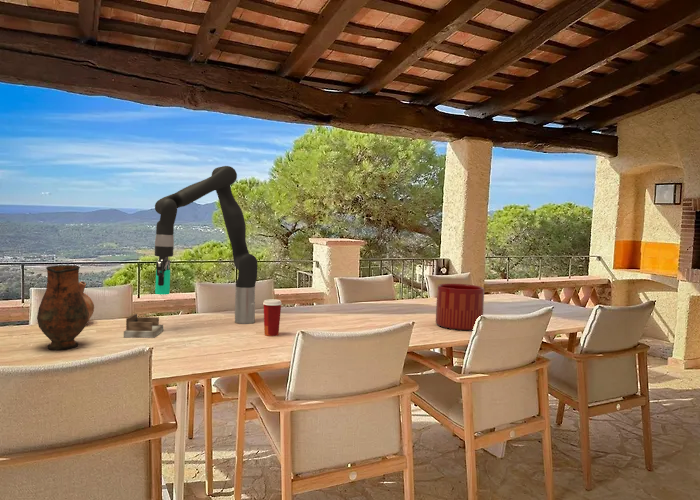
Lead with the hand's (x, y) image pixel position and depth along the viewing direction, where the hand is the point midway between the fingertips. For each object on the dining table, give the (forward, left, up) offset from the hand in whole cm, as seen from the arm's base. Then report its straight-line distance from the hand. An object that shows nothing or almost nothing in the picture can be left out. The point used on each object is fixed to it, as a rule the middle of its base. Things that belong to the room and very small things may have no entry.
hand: (162, 284), depth 215 cm
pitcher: (+29, +25, -21) cm, 44 cm away
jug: (+42, -11, -21) cm, 48 cm away
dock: (+6, +5, -20) cm, 22 cm away
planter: (-139, -19, -21) cm, 142 cm away
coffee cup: (-47, +4, -21) cm, 52 cm away
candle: (0, 0, -4) cm, 4 cm away
